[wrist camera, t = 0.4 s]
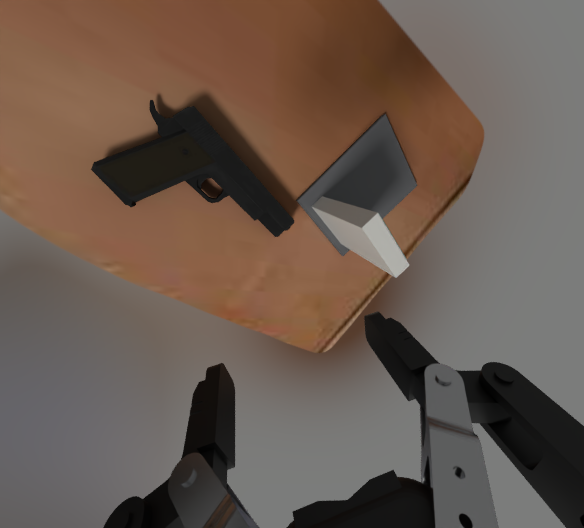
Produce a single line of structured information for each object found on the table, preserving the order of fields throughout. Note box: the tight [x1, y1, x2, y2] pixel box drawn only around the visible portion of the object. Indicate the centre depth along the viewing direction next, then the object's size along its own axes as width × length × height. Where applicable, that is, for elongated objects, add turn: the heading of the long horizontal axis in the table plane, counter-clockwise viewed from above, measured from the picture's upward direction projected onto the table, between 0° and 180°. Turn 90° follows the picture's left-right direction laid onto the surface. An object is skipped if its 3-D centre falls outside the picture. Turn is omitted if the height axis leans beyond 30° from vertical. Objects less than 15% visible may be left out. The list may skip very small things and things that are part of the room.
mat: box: [296, 114, 417, 256], centre depth 33 cm, size 16×12×1 cm
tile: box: [312, 196, 409, 278], centre depth 28 cm, size 2×8×12 cm, turn 42°
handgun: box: [91, 100, 294, 237], centre depth 26 cm, size 3×19×12 cm
